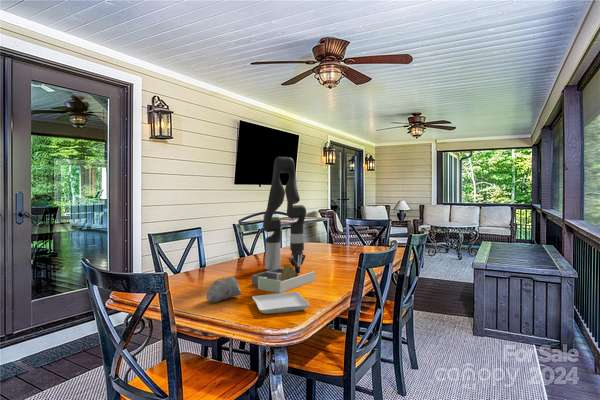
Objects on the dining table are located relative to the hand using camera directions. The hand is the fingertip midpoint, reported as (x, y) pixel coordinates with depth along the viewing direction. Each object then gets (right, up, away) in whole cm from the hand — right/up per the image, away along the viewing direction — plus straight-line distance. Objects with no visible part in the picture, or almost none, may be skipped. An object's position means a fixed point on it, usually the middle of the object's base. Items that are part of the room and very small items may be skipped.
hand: (297, 273), depth 208 cm
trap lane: (-9, -5, -4) cm, 11 cm away
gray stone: (-33, -6, -34) cm, 48 cm away
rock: (-4, -5, -4) cm, 7 cm away
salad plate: (-7, -6, -45) cm, 46 cm away
